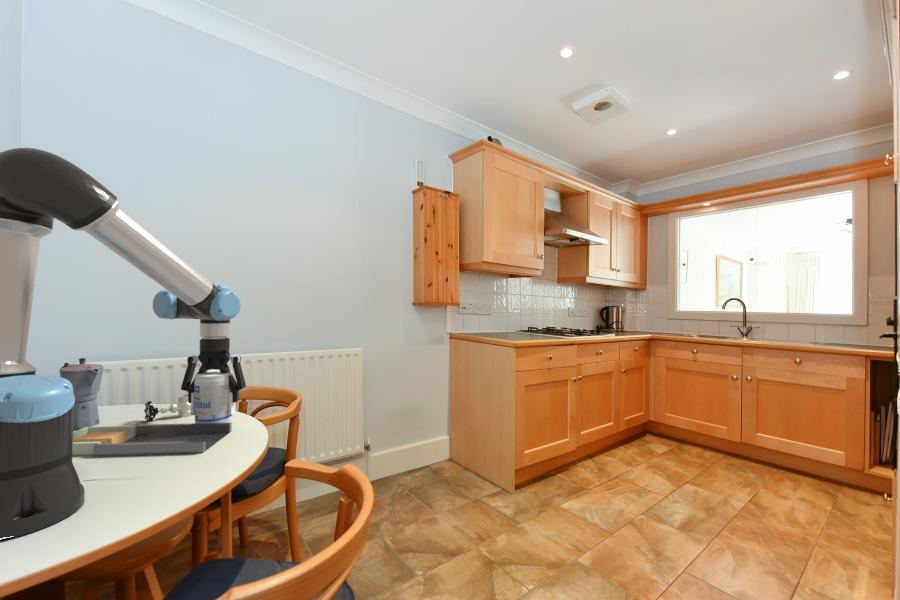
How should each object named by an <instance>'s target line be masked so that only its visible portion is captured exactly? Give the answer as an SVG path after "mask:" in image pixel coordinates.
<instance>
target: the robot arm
mask: <svg viewBox="0 0 900 600" xmlns="http://www.w3.org/2000/svg"><path fill="white" fill-rule="evenodd" d="M54 219H55V220H58V221H60V222H61V223H63V224H64V225H66V226H67V227H69V228H70V229H71V230H73V231H83V232H86V234H88V235H90V236H91V237H93V239H95V240H97V241H98V242H100V243H101V244H102V245H104V246H105V247H106V248H108V249H109V250H110V251H112V252H113V253H115V254H116V255H118V256H119V257H121V258H122V259H123V260H124V261H126V262H127V263H129V264H130V265H132V266H133V267H134V268H136V269H137V270H138V271H140V272H142V273H143V274H144V275H146V276H147V277H148V278H149V279H151V280H153V281H154V282H155V283H156V284H158V285H159V286H161V287H162V288H163V289H165V290H160V291H158V292H157V293H156V294H155V295H154V296H153V299H152V310H153V312H154V314H155V315H156V316H157V318H159V319H163V320H164V319H165V320H168V319H169V320H175V319H176V320H177V319H181V320H182V319H185V320H199V322H200V324H199V325H200V326H199V327H200V328H199V337H200V339H199V354H198V355H191V356H188V357H187V358H186V360H187V366H186V369H185V373H184V376H183V380H182V382H181V387H180V390H181V391H185V392H187V395H188V403H191V416H195V396H194V381H195V377H194V376H195V371H196V367H197V364H198V363H199V362H200V363H201V366H199V369H198V372H197V373H196V374H203V373H205V372H207V371H208V370H220V372H222V373H229V372H231V371H232V370H231V369H230V366H229V364H228V362H229V361H230V363H231V364H232V369H233V372H234V373H233V374H234V375H233V374H232V375H231V376H229V375H228V378H229V386H230V388H231V390H232V391H231V392H229V413H228V415H232V414H235V413H236V403H237V402H239V400H240V399H239V398H240V397H239V396H240V395H239V394H240V391H241V390H243V389H245V388H247V383H246V380H245V377H244V373H243V367H242V365H241V359H242V356H241V355H231V353H230V348H231V347H230V345H231V344H230V343H231V342H230V340H231V339H230V338H229V336H230V335H231V320H232V319H234V318H236V317H237V315H238V314H239V313H240V311H241V308H242V306H241V305H242V304H241V303H242V301H241V299H240V296H239V295H237V293H236V292H233V291H231V288H230V287H229V286H228V285H222V284H221V285H220V284H214V283H213V282H211V281H210V280H209V279H208V278H207V277H205V276H204V275H203V274H202V273H201V272H199V270H197V269H196V268H194V267H193V266H192V265H191V264H190V263H189V262H188V261H186V260H185V259H183V257H181V256H180V255H179V254H178V253H176V252H175V251H174V250H173V249H172V248H170V247H169V245H167V244H165V243H164V241H162V240H161V239H159V238H158V237H157V236H156V235H155V234H154V233H152V232H151V230H149V229H147V228H146V227H145V226H144V225H143V224H141V223H140V222H139V221H138V220H137V219H135V218H134V217H133V216H132V215H131V214H129V213H128V212H127V211H125V210H124V208H122V207H121V206H119V198H118V196H116V195H115V194H114V193H112V192H111V191H110V190H109V189H108V188H107V187H105V186H104V185H103V184H102V183H101V182H100V181H98V180H97V179H96V178H95V177H93V176H91V175H90V174H89V173H87V172H86V171H84V170H83V169H82V168H80V167H78V165H75V164H74V163H72V162H71V161H68V160H67V159H66V158H63V157H61V156H59V155H57V154H55V153H53V152H49V151H46V150H43V149H40V148H39V149H37V148H33V147H17V148H11V149H7V150H4V151H1V152H0V538H3V537H10V536H17V537H21V536H23V535H28V534H31V533H33V532H36V531H39V530H43V529H45V528H47V527H49V526H51V525H52V526H53V525H54V524H56V523H58V522H61V521H63V520H65V519H66V518H68V517H70V516H72V515H73V514H75V513H77V511H79V510H80V509H81V508H82V507H83V506H84V504H85V500H86V499H85V495H86V494H85V493H86V492H85V491H86V490H85V489H86V488H85V487H84V485H83V484H82V483H81V480H80V478H79V475H78V473H77V470H76V468H75V465H74V464H73V455H72V445H73V432H74V431H73V414H74V402H75V396H74V393H73V386H72V384H71V382H70V381H68V380H67V379H65V378H61V377H60V376H58V375H56V376H55V375H47V374H46V375H40V374H36V371H37V368H36V367H35V366H33V365H32V364H31V363H30V362H28V360H27V358H26V357H27V350H28V340H29V334H30V333H29V332H30V325H31V315H32V308H33V307H32V306H33V298H34V290H35V282H36V274H37V265H38V258H39V249H40V241H41V239H42V238H43V237H45V236H47V235H49V234H51V233H52V232H53V228H54V227H53V225H54ZM230 370H231V371H230ZM234 376H235V377H234ZM193 377H194V378H193Z"/></svg>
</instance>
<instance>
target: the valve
mask: <svg viewBox="0 0 900 600" xmlns="http://www.w3.org/2000/svg"><path fill="white" fill-rule="evenodd" d="M177 399H178V400H177V401H178V403H176V402H174V403H171V404H170V405H169V406H167V405H166V406H161V407H160V408H158V407H155V406H154V405H153V404H152V401H151V400H149V401H146V402H145V403H144V407H145V408H144V411H143V412H144V413H145V416H144V420H145V421H146V422H145V423H148V424H149V423H153V422H154V419H155V418H156V416H157V415H158V414H159V413H161V414H165V413H167V412H170V413H171V414H175V413H177V415H178V416H177V417H178V418H181V417H184V418H188V417H187V416H189V417H191V416H192V415H191V403H188V394H182V395H181V394H180V395H179V396H178V398H177Z"/></svg>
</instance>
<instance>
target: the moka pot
mask: <svg viewBox="0 0 900 600" xmlns="http://www.w3.org/2000/svg"><path fill="white" fill-rule="evenodd" d="M86 361H87V358H85V357H82V358H79V359H78V362H79V363H77V364H70V363H68V362H64V365H63V366H62V367H61V368H59V377H61V378H65V379H67V380H68V381H70V382H71V384H72V386H73V393H74V396H75V402H74V414H73V432H74V431H77V430H80V429H82V428H85V427H87V426H98V425H99V424H100V416H99V415H100V413H99V406H98V399H97V398H98V393H99V392H100V389H101V383H102V378H103V374H104V369H105V367H104V365H102V364H95V363H94V364H93V363H86Z"/></svg>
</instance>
